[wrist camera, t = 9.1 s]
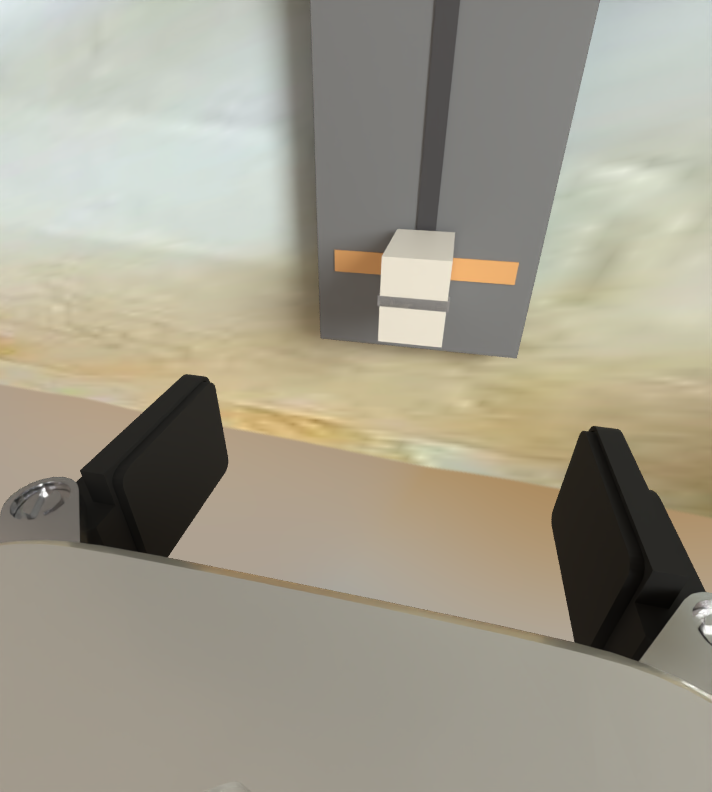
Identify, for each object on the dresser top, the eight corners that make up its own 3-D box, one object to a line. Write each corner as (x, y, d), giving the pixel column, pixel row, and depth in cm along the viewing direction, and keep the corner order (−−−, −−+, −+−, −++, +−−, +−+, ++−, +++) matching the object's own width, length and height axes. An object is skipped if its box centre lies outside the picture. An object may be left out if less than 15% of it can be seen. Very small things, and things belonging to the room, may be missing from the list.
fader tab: (457, 232, 23) (455, 261, 19) (447, 306, 25) (443, 347, 21) (395, 228, 24) (379, 256, 19) (391, 301, 26) (375, 341, 21)
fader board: (655, -292, 15) (680, -344, 14) (513, 343, 28) (516, 359, 27) (316, -253, 17) (300, -293, 16) (328, 325, 30) (320, 338, 28)
